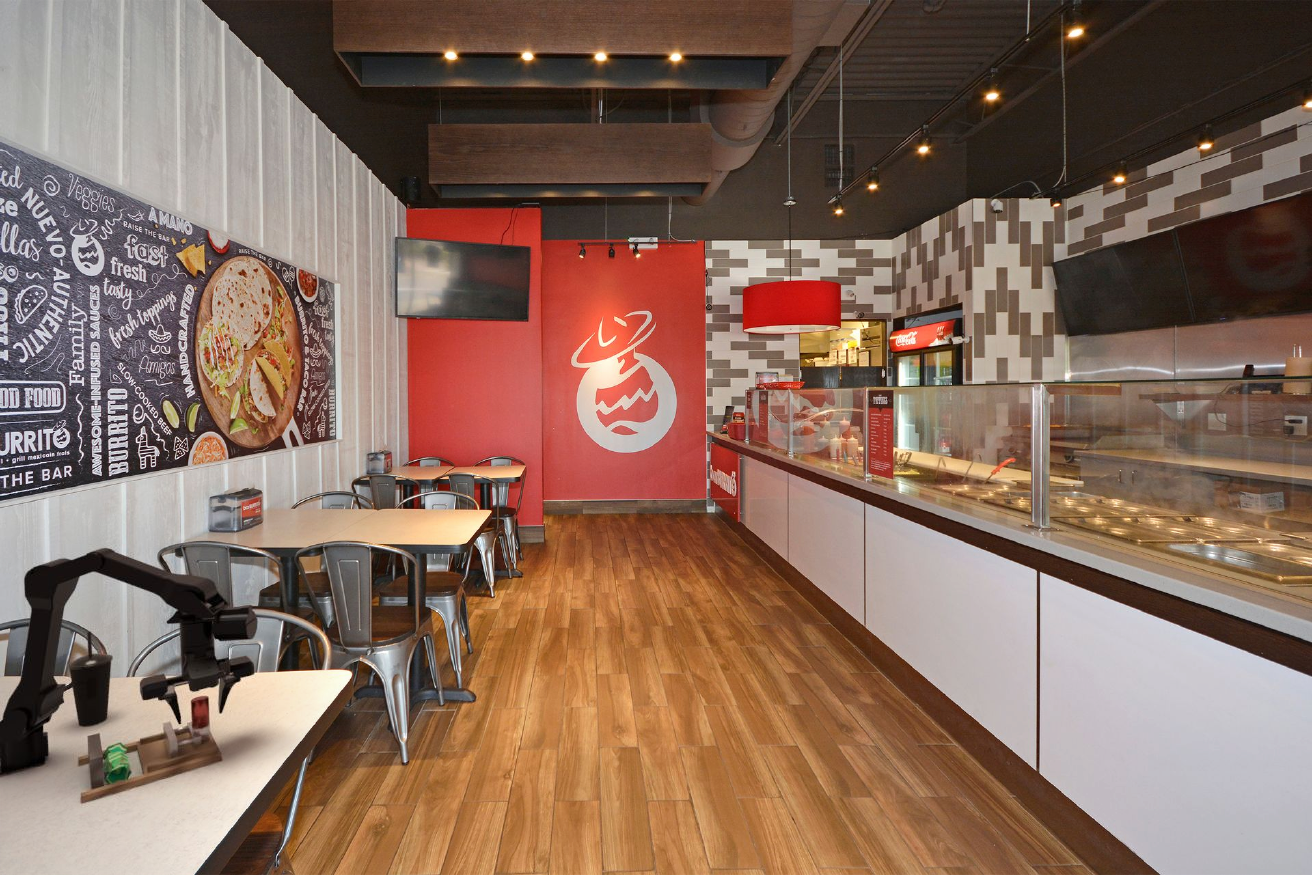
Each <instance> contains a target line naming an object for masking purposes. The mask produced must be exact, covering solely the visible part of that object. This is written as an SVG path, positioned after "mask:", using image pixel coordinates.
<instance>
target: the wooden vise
mask: <svg viewBox="0 0 1312 875" xmlns="http://www.w3.org/2000/svg"><path fill="white" fill-rule="evenodd" d="M175 735H176V738H177V742H180V741H184V740H187V739H191V738H190V736H189V733H188V731H185V732H182V733H178V734H175ZM101 741H102V740H101V734H100V732H98V733H95V734H91V735H87V754H84V755H81V756H78V757H77V763H78V764H77V765H78V767H80V766H84V765H88V771H89V772H88V773H89V782H90V789H89V790H85V791H83V792H80V804H83V803H87V802H90V801H93V800H96V799H100V798H103V797H107V796H109V795H112V794H116V793H119V792H123V791H127V790H130V789H133V788H136V787H139V786H143V785H146V784H150V783H153V782H156V781H160V780H164V779H165V778H167V779H168V778H169V777H173V776H176V775H179V774H183V773H185V772H189V771H192V770H197V769H200V768H202V767H205V766H209V765H213V764H216V763H219V762H223V754H222V752H221V750H220V748H219V746H218V744H217V742H216V740H215V738H214V736H213V734H212V732H211V731H210V739H209V740H208V741H206V742H204V743H201V744H200V745H196V746H194V745H193V744H189V745H185V746H182V747H178V757H177V758H173V759H170V757H169V754H168V751H167V748H166V745H165V742H164V732H161V733H157V734H152V735H149V736H146V737H141V738H139V740H137V741H133V742H129V743H126V744H123V745H124V746H125V747H127V751H126V753H125V754H128V753H131V752H132V753H133V752H135V751H137V752H136V753H137V756H138V759H139V763H140V768H141V772H142V774H141V775H137V776H133V777H129V778H128V779H126V780H123V781H120V782H116V783H113V784H109V785H108V784H106V785H105V774H104V773H105V770H104V760H105V759H104V758H103V755H104V753H105V751H106V749H104V750H103V748H102V747H103V746H102V742H101Z"/></svg>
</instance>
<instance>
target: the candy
mask: <svg viewBox="0 0 1312 875" xmlns="http://www.w3.org/2000/svg"><path fill="white" fill-rule="evenodd" d="M124 745H125V744H123V743H122V742H118V743H115V744H112V745H109V746H107V747H106V749H105V750H106V751H105V753H104V755H103V758H104V759H103V760H104V761H103V767H104V773H106V774H107V776H105V777H106V778H105V780H104V783H106V785H109V784H113V783H116V782H120V781H123V780H126V779H130V777H131V774H132V773H133V772H132V771H131V770H130V769H129V767H130V759H129V756H128V755H126V754H127V753H126V751H127V747H125V746H124Z"/></svg>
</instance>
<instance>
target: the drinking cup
mask: <svg viewBox="0 0 1312 875" xmlns="http://www.w3.org/2000/svg"><path fill="white" fill-rule="evenodd" d="M86 635H87V654H85V655H82V656H79V657H78V658H76V659H74V660H72V661H70V662H68V663H67V669H69V674H70V675H69V676H70V678H71V680H70V681H71V686H72V692H73V697H74V704H75V711H76V716H77V723H78V726H80V727H92V726H95V725H99V724H102V723H103V722H106V720H107V719H108V713H109V711H108V710H109V700H110V698H109V697H110V696H109V695H110V684H111V682H110V681H111V669H112V661H113V660H114V656H113V655H111V654H105V653H100V652H99V653H93V643H92V631H87V634H86Z"/></svg>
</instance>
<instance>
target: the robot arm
mask: <svg viewBox="0 0 1312 875" xmlns="http://www.w3.org/2000/svg"><path fill="white" fill-rule="evenodd" d="M90 573H97V574H100V575H103V576H105V577H108V578H111V579H114V580H117V581H119V582H122V583H125V584H127V585H130V586H133V587H136V588H139V589H141V590H144V591H147V592H149V593H153V594H154V595H156V596H158V597H160V598H161V600H163V602H164V603H165V604H166V605H168V606H170V607H171V608H173V609H175V610H176V611H175V612H174V613H173V615H172V616H171V617H169V619H167V620H166V624H168V625H173V624H179V625H178V626H179V645H180V646H179V648H180V649H179V651H180V669H181V670H180V673H181V675H177V676H172V677H168V678H167V677H166V675H165V673H160V674H156V675H155V674H154V675H152V676H146V677H143V678H142V679H141V680H140V681H139V692H140V696H141V700H142V701H149V700H154V699H157V700H158V701H160V702H161V701H165V702H166V703H167V704H168V706H169V707H170V709H171V710H172V712H173V715H174V718H175V720H176V722H177V724H178V725H181V724H182V716H181V710H180V705H179V700H178V694H177V692H176V690H175V689H176V687H180V686H184V685H185V686H186V685H188V689H189V692H192V693H193V692H194V693H196V692H200V691H201V690H205V689H209V688H210V689H212V688H213V689H214V688H216V687H217V686H218V700H217V702H218V703H217V704H218V706H217V707H218V714H220V715H221V714H223V712H224V709H225V705H226V703H227V700H228V697H229V694H230V692H231V690H232V688H233V687H234V685H236V683H240V682H241V680H242V679H243V678H247V677H250V676H251V677H252V676H254V675H255V665H254V662H253V660H252V659H251V658H250V657H249V656H247V655H243V656H239V657H238V656H237V657H235V658H229V657H223V658H217V656H216V649H215V648H216V646H215V645H216V644H215V640H218V641H219V642H234V641H244V640H245V641H247V640H252V639H254V638H255V636H256V633H257V630H258V617H257V614H256V613H255V611H254V610H253V605H252V604H247V605H245V604H244V605H242V606H231V605H230V603H229V602H228V601H227V599H226V598H224V597H223V595H222V594H221V592H219V591H218V589H217V586H216V583H215V582H214V581H213V580H212V579H211V578H208V577H203V576H200V575H199V576H198V575H194V574H179V573H173V572H170V571H167V570H164V569H162V568H159V567H157V566H154V565H151V564H148V563H145V562H143V561H140V560H138V559H135V558H132V557H130V556H127V555H124V554H121V553H119V552H116V551H115V550H114V549H112V548H109V547H108V548H107V547H102V548H99V549H96V550H95V549H94V550H93V551H90V552H88V553H86V554H85V555H82V556H79V557H76V558H74V559H69V558H66V557H63V558H62V557H61V558H57V559H54V560H52V561H48V562H45V563H42V564H39V565H36V566H35V565H34V566H33V567H32V568H31V569H29V570H27V572H26V573H25V575H24V578H23V579H24V580H23V587H24V597H25V599H26V601H27V603H28V605H29V606H30V617H29V623H28V629H27V637H26V642H25V650H24V655H23V660H22V661H23V663H22V667H21V668H22V669H21V675H20V680H19V682H18V684H17V685H16V687H15V689H14V690H13V692H12V693H11V695H10V697H9V698H8V700H7V703H6V705H5V709H4V711H3V713H2V719H1V720H0V776H3V775H7V774H10V773H14V772H18V771H22V770H26V769H30V768H34V767H37V766H40V765H44V764H45V763H46V759H47V757H49V755H50V754H49V752H50V751H49V732H47V731H44V725H46V724H48V723H49V722H50V721H51V720H52V719H51V718H52V716H53V714H55V713H56V712H57V711H59V708H60V706H61V705H63V704H64V703H65V699H64V693H65V690H66V687H67V685H66V683H60V684H59V683H58V682H57V680H56V678H55V668H56V662H57V657H58V656H57V655H58V650H59V644H60V643H59V642H60V638H61V632H62V625H63V617H64V611H65V606H66V604H67V602H68V601H69V600H70V598H71V597H72V595H73V593H74V592H75V590H76V588H77V585H78V583H79V580H80V578H81V577H82V576H85V575H88V574H90ZM208 605H210V606H209V607H208Z"/></svg>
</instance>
